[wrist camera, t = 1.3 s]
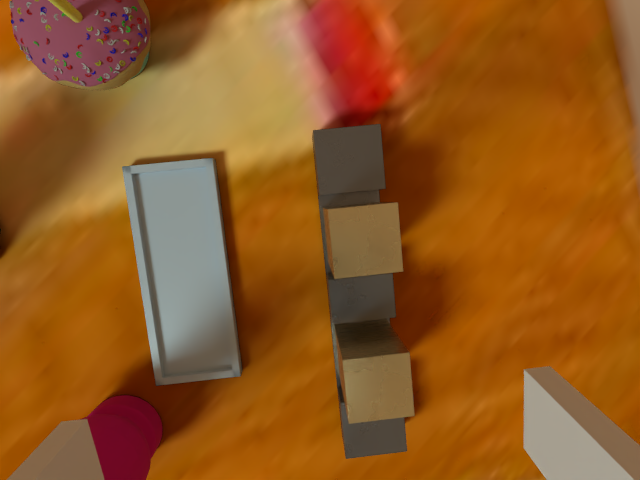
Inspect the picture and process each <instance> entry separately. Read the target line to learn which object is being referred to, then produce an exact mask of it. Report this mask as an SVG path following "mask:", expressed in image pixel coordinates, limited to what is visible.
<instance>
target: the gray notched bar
mask: <svg viewBox="0 0 640 480" xmlns="http://www.w3.org/2000/svg"><path fill="white" fill-rule="evenodd" d="M312 140H313V150H314V160H315V170H316V179H317V189H318V199H319V209H320V219H321V229H322V239H323V249H324V259H325V269H326V279H327V289H328V299H329V309H330V319H331V329H332V339H333V349H334V359H335V369H336V379H337V389H338V399H339V409H340V419H341V429H342V437H343V444H344V450H345V456H346V459H347V458H356V457H364V456H372V455H380V454H388V453H397V452H405V451H407V445H406V433H405V421H404V417H402V418H394V419H385V420H377V421H368V422H360V423H352V424H349V422H348V417H347V412H346V407H345V402H344V397H343V392H342V387H341V382H340V377H339V368H338V358H337V348H336V338H335V328H334V325H342V324H351V323H360V322H369V321H378V320H387V321H388V322H389V324H390V318H394V317H396V310H395V297H394V285H393V273H385V274H376V275H367V276H357V277H348V278H339V279H334V276H333V274H332V271H331V268H330V266H329V263H328V257H327V247H326V237H325V227H324V217H323V208H324V207H334V206H344V205H354V204H363V203H373V202H380V197H379V190H380V189H386V186H385V174H384V162H383V149H382V137H381V125H380V124H375V125H364V126H354V127H343V128H333V129H322V130H313V135H312Z"/></svg>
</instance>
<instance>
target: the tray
mask: <svg viewBox="0 0 640 480" xmlns="http://www.w3.org/2000/svg"><path fill="white" fill-rule="evenodd" d="M122 169H123V175H124V182H125V188H126V195H127V201H128V208H129V214H130V221H131V227H132V234H133V240H134V246H135V253H136V259H137V266H138V272H139V279H140V285H141V292H142V298H143V305H144V311H145V318H146V324H147V330H148V337H149V343H150V350H151V356H152V363H153V369H154V376H155V382H156V386H159V385H168V384H176V383H185V382H194V381H203V380H211V379H220V378H229V377H238V376H241V373H242V363H241V356H240V348H239V340H238V332H237V324H236V317H235V309H234V301H233V293H232V285H231V278H230V270H229V262H228V254H227V246H226V239H225V231H224V223H223V215H222V207H221V200H220V192H219V184H218V176H217V168H216V161H215V159H214V158H206V159H196V160H186V161H175V162H165V163H155V164H144V165H134V166H124V167H122Z"/></svg>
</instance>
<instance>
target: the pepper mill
mask: <svg viewBox="0 0 640 480" xmlns="http://www.w3.org/2000/svg"><path fill="white" fill-rule="evenodd" d="M82 419H87V420H88V424H89V427H90V431H91V434H92V438H93V441H94V445H95V448H96V452H97V455H98V459H99V462H100V466H101V469H102V473H103V476H104V480H146V477H147V475H148V472H149V469H150V459H151V458H152V456H153V454H154V453H155V451H156V449H157V448H158V446H159V444H160V441H161V438H162V432H163V429H162V422H161V419H160V417H159V415H158V413H157V411H156V410H155V409H154V408H153V406H151V405H150V404H149V403H148V402H146V401H144V400H142V399H140V398H138V397H134V396H129V395H121V396H115V397H112V398H109V399H107V400H105V401H104V402H102V403H101V404H100V405H99V406H97V407H96V408H95V409H94V410H93V411H92V412H91V413H90V414H89V415H88V416H87V417H85V418H82ZM80 420H81V419H80Z"/></svg>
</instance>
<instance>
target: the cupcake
mask: <svg viewBox="0 0 640 480" xmlns="http://www.w3.org/2000/svg"><path fill="white" fill-rule="evenodd" d="M11 2H12V3H11ZM10 8H11V18H12V20H11V23H12V25H13V33H14V37H15V39H16V41H17V43H18V44H19V46H20V49H21V50H23V51H24V53H25V54H26V58H27V59H28V58H29V59H28V60H29V61H30V60H31V61H32V62H33V63H34V64H35V65H36V66H37V67H38V68H39V69H40V70H41V71H42V72H43V73H42V74H45V75H46V76H47V77H48V78H50V79H51V80H54V81H56V82H57V83H59V84H62V85H66V86H70V87H74V88H79V89H86V90H107V89H113V88H116V87H119V86H121V85H123V84H124V83H125V82H127V81H128V80H129V79H132V78H134V77H135V76H137V75H138V74H139V73H140V72H141V71H142V70H143V69H144V67H145V66H146V64H147V61H148V57H149V50H150V46H151V40H150V15H149V10H148V8H147V6H146V4H145V2H144V0H12V1H10Z"/></svg>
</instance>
